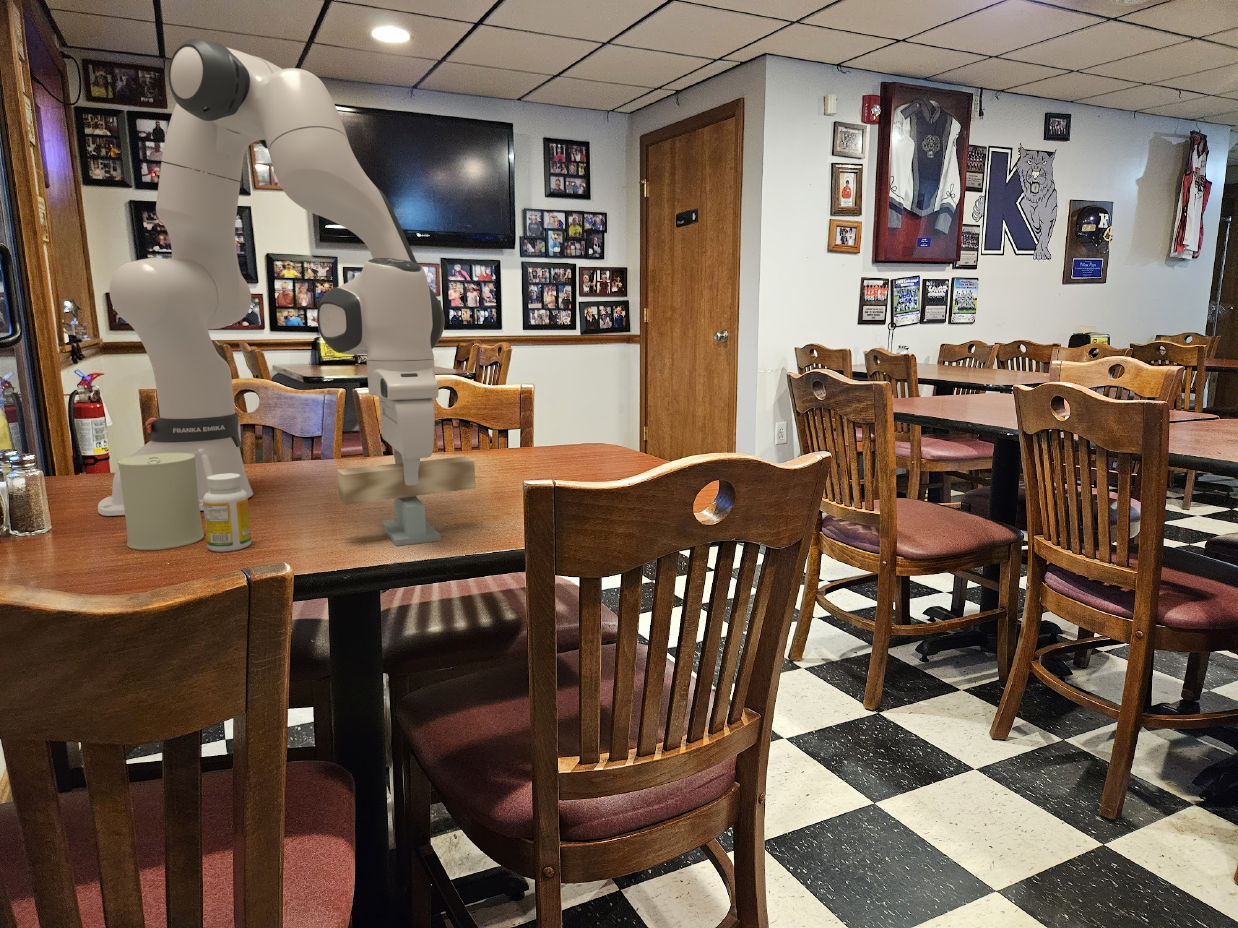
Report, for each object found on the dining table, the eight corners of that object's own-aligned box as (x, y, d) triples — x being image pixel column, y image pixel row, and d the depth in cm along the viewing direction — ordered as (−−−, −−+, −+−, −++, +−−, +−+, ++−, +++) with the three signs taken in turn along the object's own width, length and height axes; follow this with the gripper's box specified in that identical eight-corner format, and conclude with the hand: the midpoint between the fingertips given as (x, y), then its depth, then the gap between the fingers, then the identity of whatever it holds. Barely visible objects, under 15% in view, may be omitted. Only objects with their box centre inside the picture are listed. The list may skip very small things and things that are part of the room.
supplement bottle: (215, 555, 104) (207, 482, 102) (202, 546, 108) (194, 476, 106) (258, 546, 108) (251, 476, 106) (244, 538, 111) (237, 470, 110)
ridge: (395, 545, 107) (393, 509, 106) (382, 526, 117) (380, 493, 116) (440, 540, 110) (438, 504, 109) (424, 522, 120) (422, 489, 119)
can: (122, 553, 105) (111, 463, 102) (132, 536, 113) (122, 452, 111) (201, 545, 108) (192, 457, 106) (206, 529, 117) (197, 447, 114)
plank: (345, 504, 106) (343, 474, 106) (339, 498, 110) (337, 469, 109) (475, 488, 115) (474, 460, 114) (465, 483, 119) (464, 456, 118)
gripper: (367, 376, 118) (373, 469, 120) (390, 387, 99) (396, 497, 102) (411, 375, 120) (416, 466, 123) (441, 385, 102) (446, 492, 104)
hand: (407, 480), depth 112 cm, fingers closed on plank, 4 cm apart
